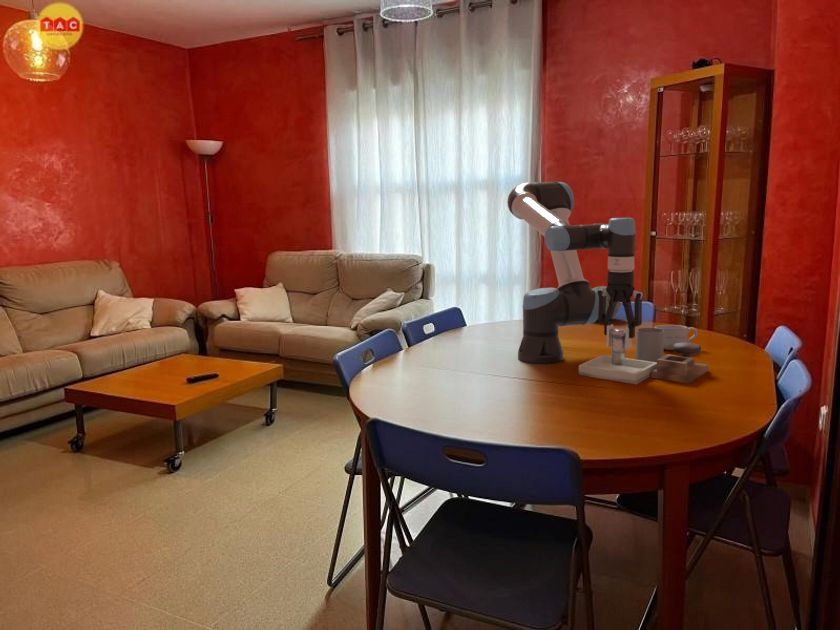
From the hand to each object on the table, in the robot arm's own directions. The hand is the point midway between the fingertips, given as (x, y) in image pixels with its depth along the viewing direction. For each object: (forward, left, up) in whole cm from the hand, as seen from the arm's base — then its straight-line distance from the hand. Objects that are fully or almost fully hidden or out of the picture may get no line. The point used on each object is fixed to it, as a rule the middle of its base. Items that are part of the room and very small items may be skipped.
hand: (618, 347), depth 191 cm
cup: (+1, +21, -8) cm, 23 cm away
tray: (0, 0, -8) cm, 8 cm away
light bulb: (0, 0, -5) cm, 5 cm away
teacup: (+2, +41, -8) cm, 42 cm away
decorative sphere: (-43, +77, -8) cm, 89 cm away
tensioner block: (+15, +10, -8) cm, 20 cm away
